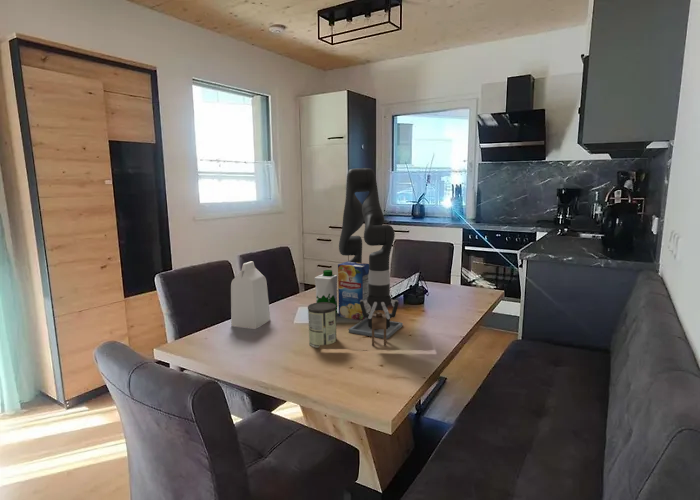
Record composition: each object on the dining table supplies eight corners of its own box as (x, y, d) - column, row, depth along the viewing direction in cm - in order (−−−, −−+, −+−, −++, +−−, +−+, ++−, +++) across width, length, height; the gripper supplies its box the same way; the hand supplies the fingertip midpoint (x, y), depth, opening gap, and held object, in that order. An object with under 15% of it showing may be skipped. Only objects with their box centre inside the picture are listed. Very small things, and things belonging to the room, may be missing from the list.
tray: (348, 335, 163) (348, 329, 162) (366, 323, 177) (366, 317, 176) (387, 342, 155) (387, 335, 155) (402, 328, 169) (402, 322, 169)
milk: (255, 329, 171) (252, 266, 167) (231, 326, 175) (227, 264, 171) (270, 319, 182) (267, 260, 178) (247, 317, 186) (244, 259, 182)
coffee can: (315, 336, 162) (314, 301, 160) (340, 339, 159) (340, 303, 156) (304, 346, 152) (302, 308, 150) (330, 349, 149) (329, 311, 147)
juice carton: (338, 319, 182) (337, 264, 179) (347, 314, 189) (346, 261, 185) (362, 323, 176) (362, 267, 173) (371, 318, 183) (371, 264, 179)
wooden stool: (371, 345, 149) (371, 315, 147) (372, 340, 154) (372, 311, 152) (386, 345, 149) (386, 315, 147) (385, 340, 154) (385, 311, 152)
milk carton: (339, 314, 189) (339, 270, 186) (331, 320, 181) (330, 274, 178) (322, 312, 193) (321, 269, 189) (313, 317, 184) (311, 273, 181)
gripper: (358, 284, 145) (358, 331, 147) (400, 284, 144) (399, 332, 146) (359, 279, 152) (359, 324, 155) (399, 279, 151) (398, 325, 154)
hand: (379, 328), depth 151 cm, fingers closed on wooden stool, 5 cm apart
